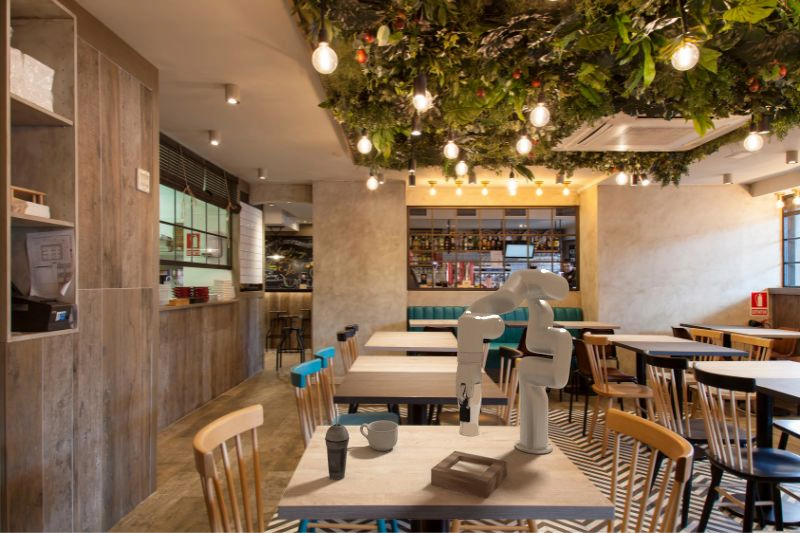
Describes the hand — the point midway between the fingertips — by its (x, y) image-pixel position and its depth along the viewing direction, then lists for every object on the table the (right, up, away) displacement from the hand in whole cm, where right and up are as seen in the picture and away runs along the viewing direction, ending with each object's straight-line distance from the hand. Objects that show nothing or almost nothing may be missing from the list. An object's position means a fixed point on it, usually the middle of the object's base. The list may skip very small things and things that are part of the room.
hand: (469, 418), depth 146 cm
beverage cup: (-39, -18, +2) cm, 43 cm away
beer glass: (0, -5, 0) cm, 5 cm away
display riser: (0, -18, 0) cm, 18 cm away
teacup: (-28, -19, +28) cm, 43 cm away
